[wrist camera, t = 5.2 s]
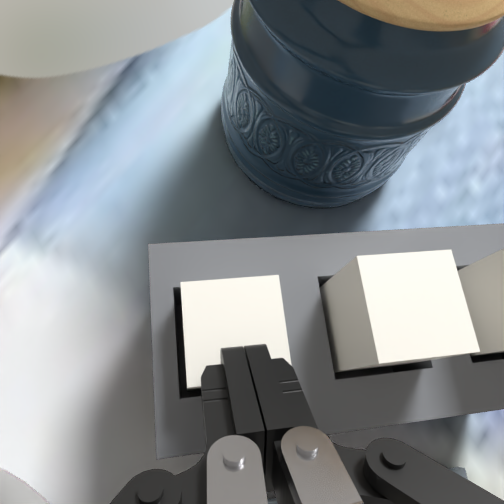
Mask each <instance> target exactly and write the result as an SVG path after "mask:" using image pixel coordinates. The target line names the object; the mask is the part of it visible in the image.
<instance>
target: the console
mask: <svg viewBox="0 0 504 504" xmlns="http://www.w3.org/2000/svg"><path fill="white" fill-rule="evenodd" d="M450 249H451V250H452V254H453V257H454V261H455V264H456V268H457V271H458V270H460V269H462V268H464V267H466V266H468V265H470V264H472V263H475V262H477V261H479V260H481V259H483V258H485V257H487V256H489V255H491V254H493V253H495V252H497V251H499V250H502V249H504V224H486V225H469V226H452V227H434V228H417V229H400V230H382V231H365V232H347V233H330V234H313V235H295V236H278V237H261V238H243V239H226V240H209V241H191V242H174V243H157V244H148V256H149V281H150V306H151V332H152V357H153V382H154V408H155V433H156V459H163V458H170V457H177V456H184V455H191V454H198V453H205V451H206V449H205V438H204V427H203V416H202V395H201V389H200V390H192V391H187V378H186V363H185V347H184V331H183V316H182V300H181V283H180V282H188V281H202V280H215V279H229V278H242V277H256V276H269V275H279V280H280V287H281V294H282V301H283V309H284V316H285V323H286V330H287V337H288V344H289V351H290V358H291V365H292V367H293V368H294V370H295V373H296V375H297V378H298V381H299V383H300V385H301V388H302V391H303V393H304V395H305V398H306V400H307V402H308V405H309V407H310V410H311V412H312V415H313V417H314V420H315V422H316V425H317V427H318V429H319V430H320V431H322V432H323V433H325V434H326V435H329V434H336V433H342V432H349V431H356V430H363V429H370V428H377V427H384V426H391V425H397V424H404V423H411V422H418V421H425V420H432V419H439V418H446V417H453V416H459V415H466V414H473V413H480V412H487V411H494V410H501V409H504V353H496V354H487V355H479V356H470V354H464V355H458V356H452V357H446V358H440V359H434V360H428V361H422V362H416V363H410V364H403V365H395V366H386V367H378V368H369V369H361V370H352V371H344V372H336V373H334V370H333V364H332V358H331V352H330V346H329V341H328V335H327V329H326V323H325V317H324V312H323V306H322V300H321V294H320V287H321V286H322V285H323V284H325V283H326V282H327V281H328V280H329V279H330V278H332V277H333V276H334V275H335V274H336V273H337V272H339V271H340V270H341V269H342V268H343V267H344V266H346V265H347V264H348V263H349V262H350V261H351V260H353V259H354V258H355V257H356V256H362V255H377V254H392V253H406V252H421V251H436V250H450Z"/></svg>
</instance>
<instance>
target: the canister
mask: <svg viewBox="0 0 504 504" xmlns="http://www.w3.org/2000/svg"><path fill="white" fill-rule="evenodd" d="M231 34H232V43H231V51H230V59H229V68H228V75H227V78H226V80H225V83H224V87H223V93H222V103H221V116H222V124H223V128H224V133H225V138H226V141H227V145H228V147H229V150H230V152H231V154H232V156H233V158H234V160H235V161H236V163H237V164H238V166H239V167H240V168H241V170H242V171H243V172H244V173H245V174H246V175H247V176H248V177H249V178H250V179H251V180H252V181H253V182H254V183H255V184H256V185H258V186H259V187H260V188H262V189H263V190H265V191H266V192H268V193H270V194H271V195H273V196H275V197H277V198H279V199H282V200H284V201H287V202H290V203H293V204H297V205H301V206H306V207H314V208H328V207H337V206H342V205H345V204H349V203H352V202H354V201H356V200H359V199H361V198H362V197H364V196H366V195H367V194H370V193H371V192H373V191H375V190H376V189H378V188H379V187H380V186H382V185H383V184H384V183H385V182H386V181H387V180H388V179H389V178H390V177H391V176H392V175H393V174H394V173H395V172H396V171H397V170H398V168H399V167H400V166H401V164H402V163H403V161H404V159H405V157H406V155H407V154H408V153H409V152H410V151H411V150H412V148H413V147H414V146H415V145H416V144H417V143H418V142H419V141H420V140H421V138H422V137H423V136H424V135H425V134H426V133H427V132H428V131H429V129H430V128H431V127H432V126H434V125H435V124H437V123H438V122H440V121H441V120H442V119H443V118H445V117H446V116H447V115H448V114H449V113H450V112H451V111H452V109H453V108H454V107H455V105H456V104H457V102H458V101H459V99H460V97H461V95H462V93H463V91H464V88H465V85H466V83H468V82H470V81H472V80H474V79H475V78H477V77H478V76H480V75H482V74H483V73H484V72H485V71H486V70H488V69H489V68H490V67H491V66H492V65H493V64H494V63H495V62H496V61H497V59H498V58H499V57H500V56H501V54H502V52H503V51H504V0H234V2H233V6H232V11H231Z"/></svg>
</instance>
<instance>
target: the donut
mask: <svg viewBox="0 0 504 504" xmlns="http://www.w3.org/2000/svg"><path fill="white" fill-rule="evenodd" d="M0 504H50V503H49V502H48V501H47V500H46V499H45V498H44V497H43V496H42V495H40V494H39V493H38V492H37V491H36V490H35V489H33V488H32V487H31V486H30V485H29V484H27V483H26V482H25V481H23V480H21V479H20V478H18V477H16V476H15V475H13V474H11V473H10V472H8V471H6V470H4V469H1V468H0Z"/></svg>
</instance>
